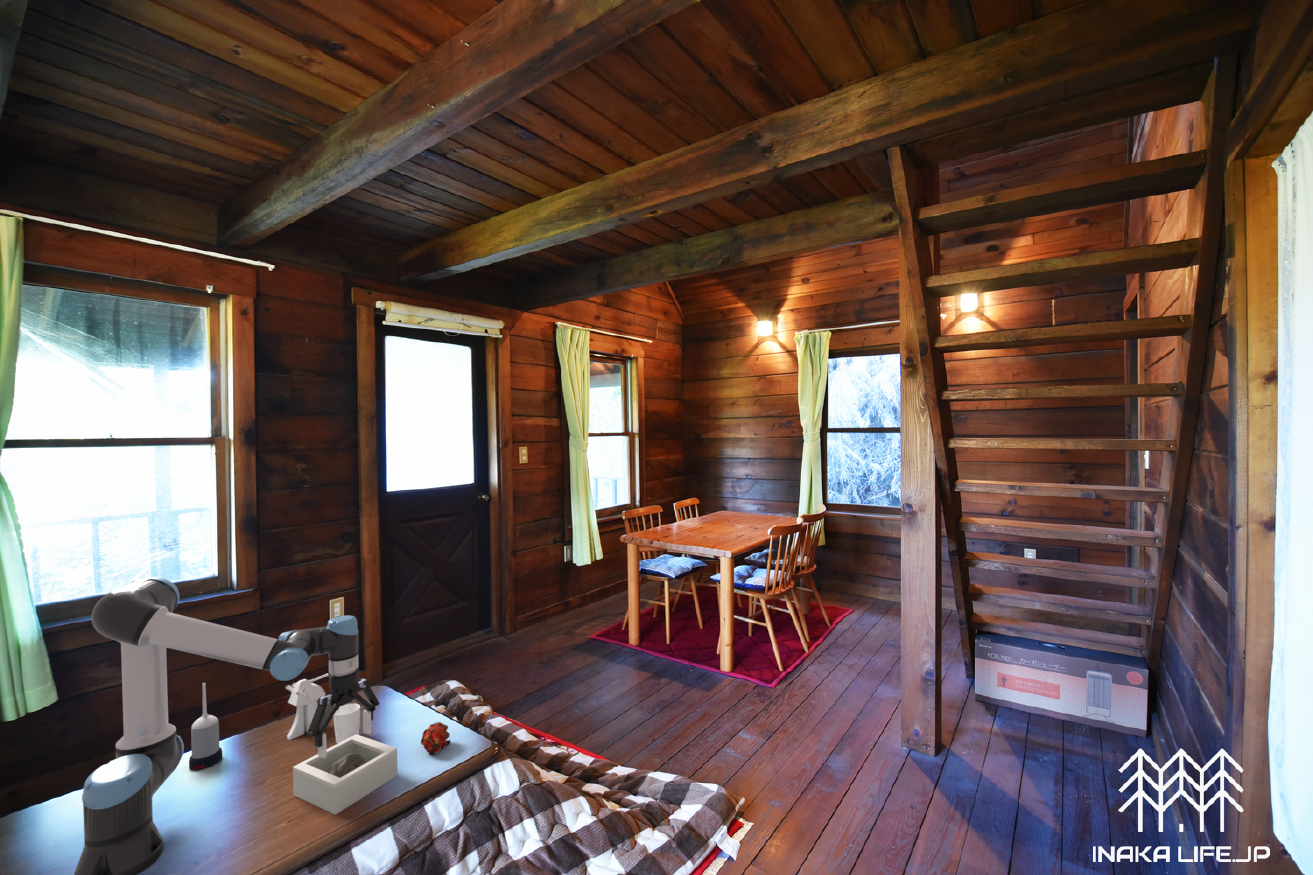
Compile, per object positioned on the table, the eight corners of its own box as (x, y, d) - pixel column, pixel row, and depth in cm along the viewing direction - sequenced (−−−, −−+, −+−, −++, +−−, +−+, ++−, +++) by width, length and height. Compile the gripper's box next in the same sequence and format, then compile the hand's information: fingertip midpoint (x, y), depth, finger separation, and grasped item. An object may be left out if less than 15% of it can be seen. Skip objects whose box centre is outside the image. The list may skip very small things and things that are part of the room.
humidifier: (193, 773, 167) (191, 691, 167) (185, 764, 172) (183, 684, 172) (226, 760, 174) (224, 681, 174) (218, 752, 179) (216, 675, 179)
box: (335, 814, 147) (334, 784, 147) (293, 795, 156) (292, 766, 156) (397, 775, 164) (396, 748, 164) (356, 759, 173) (356, 733, 173)
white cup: (335, 736, 187) (334, 706, 187) (361, 730, 190) (360, 701, 190) (332, 747, 180) (331, 717, 180) (360, 741, 183) (359, 711, 183)
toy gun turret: (338, 725, 194) (337, 674, 194) (297, 743, 183) (296, 689, 183) (320, 717, 200) (319, 667, 200) (279, 734, 189) (278, 681, 189)
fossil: (351, 798, 153) (335, 765, 153) (326, 810, 155) (310, 778, 155) (378, 773, 164) (362, 742, 164) (354, 785, 165) (339, 754, 166)
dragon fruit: (438, 743, 184) (438, 768, 173) (415, 734, 180) (413, 758, 169) (454, 721, 185) (454, 744, 173) (431, 711, 181) (430, 734, 170)
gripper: (307, 691, 147) (309, 771, 147) (390, 657, 169) (392, 726, 169) (291, 686, 151) (293, 763, 150) (374, 653, 173) (376, 721, 173)
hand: (345, 744), depth 160 cm, fingers open, 13 cm apart
